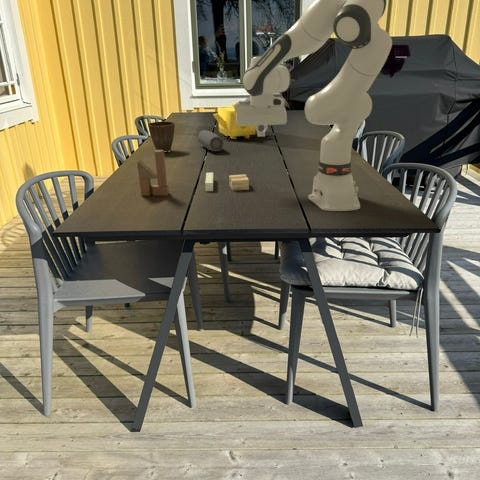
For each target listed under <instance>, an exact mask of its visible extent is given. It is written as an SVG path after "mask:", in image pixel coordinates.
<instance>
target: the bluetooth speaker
mask: <svg viewBox="0 0 480 480" xmlns="http://www.w3.org/2000/svg"><path fill="white" fill-rule="evenodd" d="M197 140H198V142H199V143H200V144H201V145H202V146H203V147H205V149H206V148H207V149H206V150H208V151H209V150H211V151H210V152H219V151H221V150H222V149H223V147H224V140H223V139H222V138H221V137H220V136H219V135H218V134H216V133H215V132H213V131H209V130H206V129H205V130H203V129H202V130H200V132H198V136H197Z"/></svg>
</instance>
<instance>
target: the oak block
mask: <svg viewBox="0 0 480 480" xmlns="http://www.w3.org/2000/svg"><path fill="white" fill-rule="evenodd" d="M228 177H229V187H230V189H231V191H234V192H235V191H243V190H244V191H245V190H248V191H249V189H250V180H249V179H250V178H248V176H247V174H233V175H229V176H228Z"/></svg>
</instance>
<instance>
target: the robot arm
mask: <svg viewBox="0 0 480 480" xmlns="http://www.w3.org/2000/svg"><path fill="white" fill-rule="evenodd" d="M386 7H387V0H313V1H312V2H311V3H310V5H309V6H308V7H307V8H306V9H305V10H304V12H303V13H302V15H301V16H300V18H299V19H297V21H295V23H294V24H293V25H292V26H291V27H290V28H289V29H288V30H287V31H285V32H284V33H283V34H282V35H280V36H279V37H278V38H277V39H276V40H274V42H273V43H272V44H271V45H270V46H269V47H268V49H266V51H265V52H264V53H263V54H261V55H256V56H253V57H252V58H251V61H250V64H249V67H247V69H246V70H245V71H244V73H243V75H242V86H243V88H244V90H245V92H247V94H248V95H249V100H239V101H237V102H235V103H234V104H235V112H236V124H237V125H238V126H246V125H255V131H256V133H257V137H265V136H266V131H267V130H268V128H269V126H272V125H286V124H287V122H288V117H287V116H288V115H287V109H286V106H284V104H285V100H284V99H283V98H281V97H278V96H276V95H273V94H278V93H283V92H286V91H287V90H288V89H289V87H290V85H291V80H292V77H291V72H290V70H289V69H288V67H287V66H285V65H282V63H284V62H285V61H288V60H290V59H293V58H296V57H297V58H298V57H302V56H306V55H310V54H313V53H315V52H317V51H318V50H320V49H321V47H324V45H325V44H326V42H327V41H328V40H329V39H330V38H331V36H332V35H333V34H334V36H335V37H336V39H337V40H338V41H340V42H341V43H342V44H343V45H346V46H347V47H349V49H351V51H350V53H349V55H348V57H347V58H346V60H345V62H344V63H343V65H342V66H341V67H342V68H340V70H339V72H338V74H337V75H336V76H335V77H334V78H333V79H332V80H331V81H330V82H329V83H328V84H327V85H326V86H325V87H323V88H322V89H321V90H320V91H318V92H316V93H315V94H313V95H311V96H309V97H308V98H307V100H306V101H305V104H304V105H305V106H304V114H305V118H306V120H307V121H308V122H309V123H310V124H313V125H319V126H320V125H321V126H327V125H328V126H329V125H333V126H332V128H331V130H330V132H329V133H327V134H326V135H325V136H324V137H323V138H322V139H321V142H320V154H319V156H320V157H319V161H318V165H317V168H318V170H317V174H316V175H314V177H313V183H312V185H313V186H312V193H310V194H308V197H307V199H308V200H310V201H311V202H312V203H314V204H315V205H316V206H317V207H318V208H320V209H321V210H322V211H328V212H348V211H356V210H359V209H361V203H360V201H359V197H358V193H359V186H355V185H356V180H354V178H353V174H352V162H351V158H352V157H351V155H352V148H353V142H354V139H355V135H356V133H357V131H358V129H359V128H360V126H361V124H362V123H363V122H364V121H365V120H366V119H367V118H368V117H369V116H370V114H371V112H372V111H373V110H372V109H373V101H372V98H371V97H370V94H369V93H368V91H369V89H370V88H371V86H372V85H373V84H374V81H375V80H376V78H377V77H378V75H379V74H380V72H381V70H382V68H383V67H384V65H385V63H386V62H387V60H388V56H389V55H390V52H391V49H392V47H393V39H392V37H391V35H390V34H389V33H388V32H387V30H384V29H383V28H381V26H380V24H379V21H380V19H382V17H383V15H384V14H385V11H386ZM260 126H263V128H264V129H263V131H261V130H259V127H260Z"/></svg>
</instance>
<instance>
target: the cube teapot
mask: <svg viewBox="0 0 480 480" xmlns="http://www.w3.org/2000/svg"><path fill="white" fill-rule="evenodd" d="M235 104H236V103H232V106H228V107H226V106H225V107H218V108H217V112H216V113H213V114H212V115H213V117H214V118H215V119H216V121H217V122H218V132H219V133H220V134H222V135H225V136H230V137H229V139H230V138H231V139H236V140H237V137H243V138H244V137H245V138H244V139H250V138H249V137H251V135H252V136H253V135H256V129H255V125H246V126H238V125H237V124H236V112H235Z"/></svg>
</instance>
